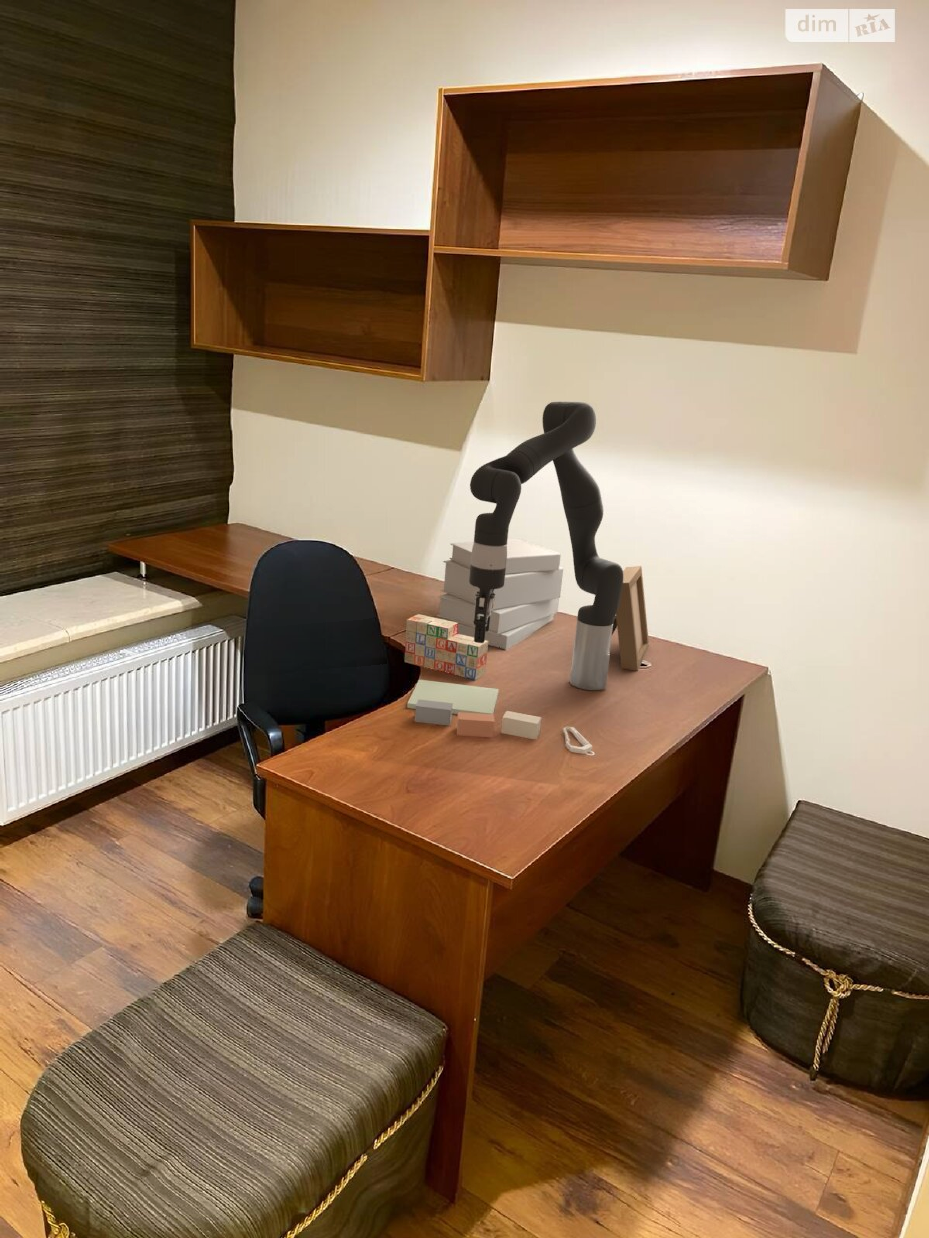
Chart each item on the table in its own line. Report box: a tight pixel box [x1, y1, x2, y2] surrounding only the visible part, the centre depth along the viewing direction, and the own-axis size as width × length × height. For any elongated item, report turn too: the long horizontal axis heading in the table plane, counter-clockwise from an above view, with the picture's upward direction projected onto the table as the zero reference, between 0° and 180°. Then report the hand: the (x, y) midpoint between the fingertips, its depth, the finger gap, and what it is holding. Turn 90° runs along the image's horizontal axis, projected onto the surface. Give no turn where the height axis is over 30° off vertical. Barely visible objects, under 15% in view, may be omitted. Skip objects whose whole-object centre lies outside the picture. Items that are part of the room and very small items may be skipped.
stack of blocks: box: [404, 613, 489, 681], centre depth 244 cm, size 21×6×12 cm, turn 63°
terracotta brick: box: [456, 712, 496, 738], centre depth 207 cm, size 8×4×4 cm, turn 92°
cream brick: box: [500, 710, 542, 740], centre depth 209 cm, size 8×4×4 cm, turn 74°
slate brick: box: [414, 699, 453, 726], centre depth 212 cm, size 8×4×4 cm, turn 84°
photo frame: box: [612, 565, 650, 672], centre depth 261 cm, size 15×22×25 cm
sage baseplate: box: [406, 679, 499, 715], centre depth 224 cm, size 20×16×1 cm
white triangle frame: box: [562, 726, 596, 756], centre depth 207 cm, size 13×5×2 cm, turn 18°
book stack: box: [436, 538, 564, 651], centre depth 276 cm, size 30×35×26 cm
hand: (481, 636), depth 201 cm, fingers open, 8 cm apart
